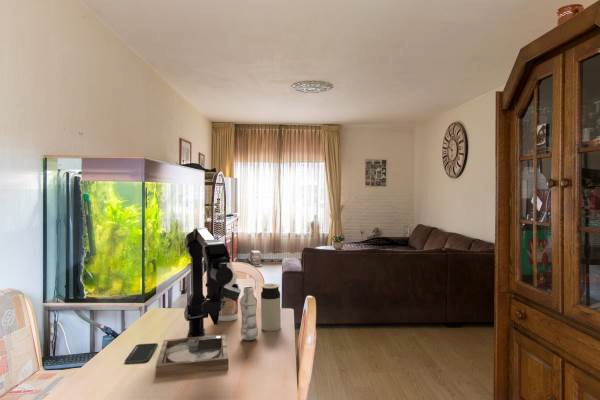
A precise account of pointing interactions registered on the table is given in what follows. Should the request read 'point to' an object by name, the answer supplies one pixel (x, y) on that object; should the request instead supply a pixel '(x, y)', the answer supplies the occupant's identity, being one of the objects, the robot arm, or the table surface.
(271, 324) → the travel mug
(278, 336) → the table surface
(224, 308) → the fruit juice
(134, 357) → the phone
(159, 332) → the table surface
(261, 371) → the table surface
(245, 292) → the plastic bottle
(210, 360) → the square wooden tray
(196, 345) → the dial
